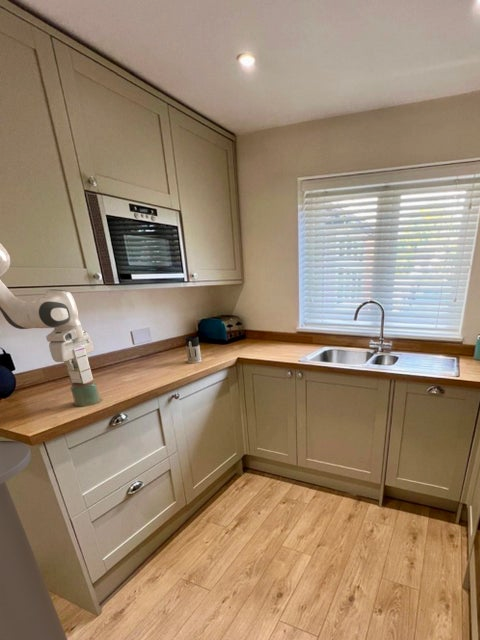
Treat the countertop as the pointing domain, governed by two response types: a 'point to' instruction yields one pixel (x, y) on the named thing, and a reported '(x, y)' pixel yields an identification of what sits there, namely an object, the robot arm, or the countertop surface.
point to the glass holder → (193, 349)
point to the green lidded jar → (85, 393)
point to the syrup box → (80, 367)
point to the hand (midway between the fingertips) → (78, 367)
